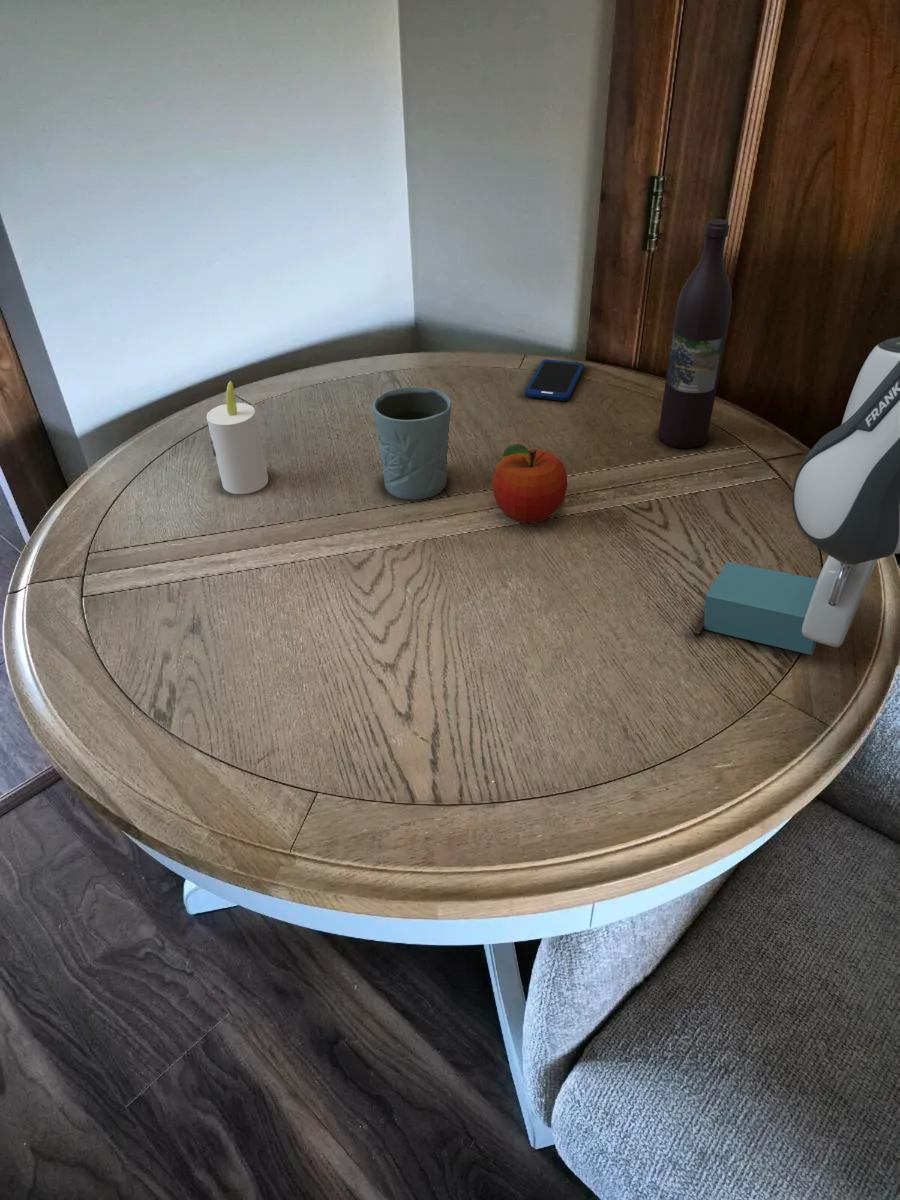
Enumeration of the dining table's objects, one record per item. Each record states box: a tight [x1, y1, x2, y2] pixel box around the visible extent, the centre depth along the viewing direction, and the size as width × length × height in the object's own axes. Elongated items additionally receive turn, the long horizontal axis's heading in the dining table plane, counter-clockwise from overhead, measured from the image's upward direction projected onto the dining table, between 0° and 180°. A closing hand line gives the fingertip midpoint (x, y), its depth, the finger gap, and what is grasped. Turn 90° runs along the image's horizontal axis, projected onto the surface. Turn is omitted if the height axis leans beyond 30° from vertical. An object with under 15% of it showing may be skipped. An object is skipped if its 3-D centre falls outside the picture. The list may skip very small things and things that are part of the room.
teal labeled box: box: [703, 561, 818, 656], centre depth 87 cm, size 11×7×4 cm, turn 57°
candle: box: [206, 380, 269, 495], centre depth 110 cm, size 6×6×15 cm
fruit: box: [491, 443, 568, 524], centre depth 104 cm, size 10×10×10 cm
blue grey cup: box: [371, 386, 452, 501], centre depth 110 cm, size 10×10×12 cm
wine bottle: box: [657, 218, 733, 449], centre depth 112 cm, size 7×7×30 cm
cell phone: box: [524, 359, 585, 402], centre depth 137 cm, size 7×14×1 cm, turn 162°
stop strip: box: [692, 613, 705, 638], centre depth 91 cm, size 1×10×1 cm, turn 147°
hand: (831, 624), depth 84 cm, fingers closed, pressing on teal labeled box
